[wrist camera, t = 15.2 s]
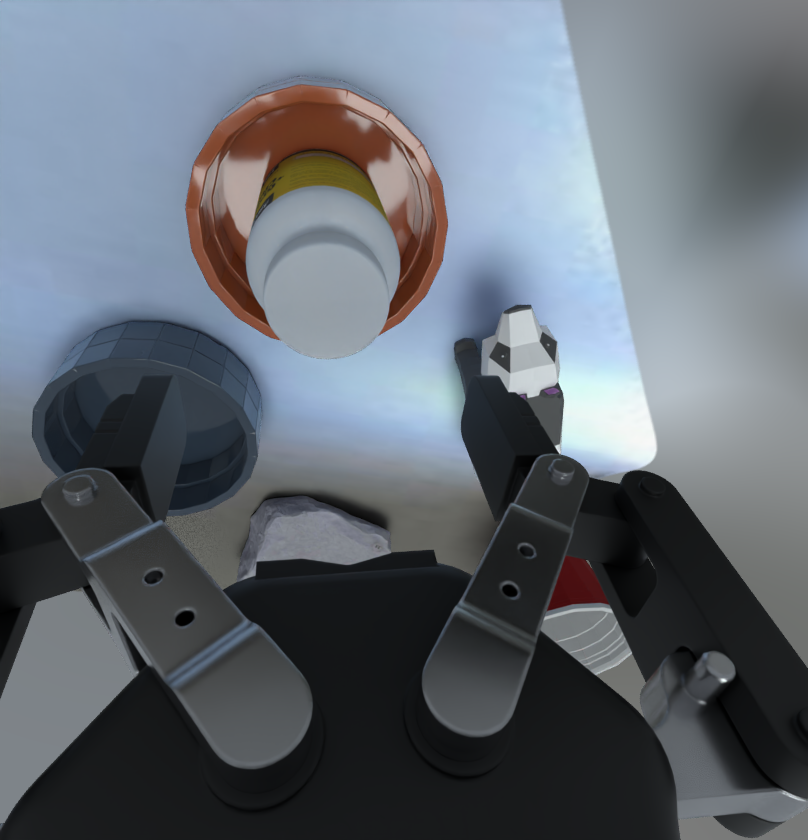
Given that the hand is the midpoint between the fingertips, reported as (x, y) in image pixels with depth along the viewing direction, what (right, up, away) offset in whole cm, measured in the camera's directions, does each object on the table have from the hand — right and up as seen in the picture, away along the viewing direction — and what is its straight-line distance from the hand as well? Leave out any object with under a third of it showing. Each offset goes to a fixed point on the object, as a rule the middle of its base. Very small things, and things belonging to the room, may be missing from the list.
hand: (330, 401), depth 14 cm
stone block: (-5, -10, +30) cm, 32 cm away
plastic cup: (+13, -11, +34) cm, 38 cm away
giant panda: (+8, +3, +22) cm, 24 cm away
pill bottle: (-2, +11, +14) cm, 18 cm away
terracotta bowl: (-2, +11, +14) cm, 18 cm away
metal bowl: (-14, +1, +20) cm, 24 cm away
